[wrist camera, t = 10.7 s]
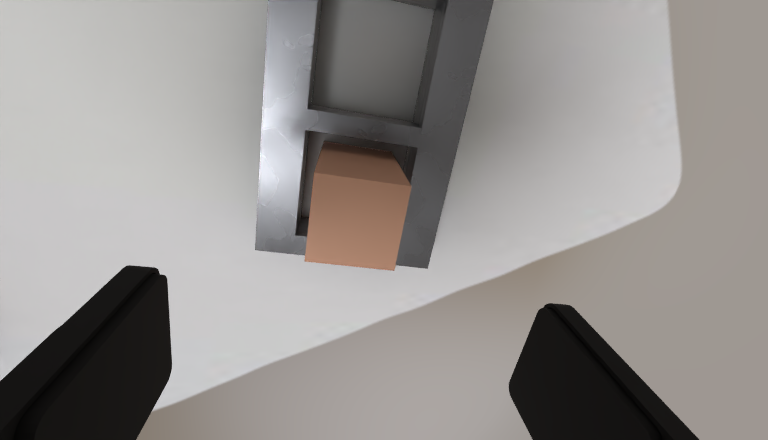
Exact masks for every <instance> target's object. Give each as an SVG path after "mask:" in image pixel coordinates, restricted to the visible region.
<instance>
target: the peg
mask: <svg viewBox="0 0 768 440" xmlns="http://www.w3.org/2000/svg"><path fill="white" fill-rule="evenodd" d="M411 187H412V186H411V184H410V183H409V181H408V179H407V178H406V176H405V174H404V173H403V171H402V169H401V167H400V166H399V164H398V162H397V161H396V159H395V157H394V155H393V154H392V152H391V151H385V150H378V149H372V148H365V147H359V146H353V145H346V144H340V143H333V142H327V141H324V143H323V146H322V149H321V152H320V155H319V158H318V162H317V165H316V168H315V171H314V177H313V187H312V196H311V206H310V215H309V225H308V234H307V243H306V253H305V261H306V262H316V263H325V264H335V265H345V266H354V267H364V268H373V269H383V270H393V271H394V269H395V265H396V260H397V255H398V250H399V245H400V240H401V236H402V231H403V226H404V221H405V216H406V211H407V207H408V202H409V197H410V192H411Z"/></svg>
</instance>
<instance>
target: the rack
mask: <svg viewBox="0 0 768 440" xmlns="http://www.w3.org/2000/svg"><path fill="white" fill-rule="evenodd" d="M393 1H398V2H402V3H407V4H411V5H416V6H420V7H425V8H429V9H434V10H435V11H434V16H433V21H432V27H431V32H430V37H429V42H428V47H427V52H426V57H425V62H424V67H423V72H422V77H421V82H420V87H419V93H418V98H417V103H416V108H415V113H414V118H413V122H410V121H404V120H399V119H393V118H387V117H381V116H375V115H369V114H364V113H358V112H352V111H346V110H340V109H334V108H329V107H323V106H317V105H312V98H313V88H314V77H315V67H316V57H317V47H318V37H319V27H320V17H321V7H322V0H268V15H267V34H266V53H265V72H264V91H263V110H262V129H261V148H260V167H259V186H258V205H257V224H256V243H255V250H259V251H269V252H278V253H287V254H297V255H305V253H306V243H307V234H308V225H309V218H302V217H301V209H302V199H303V189H304V179H305V168H306V158H307V148H308V138H309V130H310V131H317V132H323V133H329V134H335V135H342V136H348V137H354V138H360V139H366V140H373V141H379V142H385V143H391V144H398V145H404V146H408V148H407V153H406V158H405V164H404V169H403V173H404V174H405V176H406V178H407V179H408V181H409V183H410V184H411V186H412V187H411V192H410V197H409V202H408V207H407V211H406V216H405V221H404V226H403V231H402V236H401V240H400V245H399V250H398V255H397V260H396V265H399V266H409V267H418V268H427V269H428V265H429V261H430V257H431V252H432V248H433V244H434V240H435V236H436V232H437V228H438V224H439V220H440V216H441V212H442V208H443V204H444V200H445V196H446V192H447V187H448V183H449V179H450V175H451V171H452V167H453V163H454V159H455V155H456V151H457V147H458V143H459V139H460V135H461V131H462V126H463V122H464V118H465V114H466V110H467V106H468V102H469V98H470V94H471V90H472V86H473V82H474V78H475V74H476V70H477V65H478V61H479V57H480V53H481V49H482V45H483V41H484V37H485V33H486V29H487V25H488V21H489V17H490V13H491V9H492V4H493V0H393Z"/></svg>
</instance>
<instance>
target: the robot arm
mask: <svg viewBox="0 0 768 440" xmlns="http://www.w3.org/2000/svg"><path fill="white" fill-rule="evenodd" d="M171 369H172V357H171V339H170V321H169V303H168V285H167V278H166V276H165V275H160V274H159V271H158V269H157V268H152V267H141V266H126V267H124V268H123V269H122V270H121V271H120V272H119V273H118V274H116V275H115V276H114V277H113V278H112V279H111V280H110V281H109V282H108V283H107V284H106V285H105V286H104V287H103V288H101V289H100V290H99V291H98V292H97V293H96V294H95V295H94V296H93V297H92V298H91V299H90V300H89V301H88V302H86V303H85V304H84V305H83V306H82V307H81V308H80V309H79V310H78V311H77V312H76V313H75V314H74V315H73V316H71V317H70V318H69V319H68V320H67V321H66V322H65V323H64V324H63V325H62V326H60V327H59V328H57V329H56V330H55V331H54V332H53V333H52V334H51V335H50V336H48V337H47V338H46V339H45V340H44V341H43V342H42V343H41V344H40V345H39V346H38V347H37V348H36V349H34V350H33V351H32V352H31V353H30V354H29V355H28V356H27V357H26V358H25V359H24V360H23V361H22V362H20V363H19V364H18V365H17V366H16V367H15V368H14V369H13V370H12V371H11V372H10V373H9V374H8V375H6V376H5V377H4V378H3V379H2V380H1V381H0V440H136V439H137V437H138V435H139V433H140V431H141V430H142V428H143V426H144V424H145V422H146V420H147V419H148V417H149V415H150V413H151V411H152V410H153V408H154V406H155V404H156V402H157V400H158V399H159V397H160V395H161V393H162V391H163V389H164V388H165V386H166V384H167V382H168V380H169V377H170V374H171ZM509 392H510V396H511V398H512V400H513V402H514V404H515V406H516V408H517V410H518V412H519V414H520V416H521V418H522V419H523V421H524V423H525V425H526V427H527V429H528V431H529V433H530V435H531V437H532V439H533V440H699V439H698V438H697V437H696V436H695V435H694V434H693V433H692V432H691V430H689V428H688V427H687V426H686V425H685V424H684V423H683V422H682V421H681V420H680V419H679V418H678V417H677V416H676V415H675V414H674V413H673V412H672V411H671V410H670V409H669V407H668V406H667V405H666V404H665V403H664V402H663V401H662V400H661V399H660V398H659V397H658V396H657V395H656V394H655V393H654V392H653V391H652V390H651V389H650V387H649V386H648V385H647V384H646V383H645V382H644V381H643V380H642V379H641V378H640V377H639V376H638V375H637V374H636V373H635V372H634V371H633V370H632V369H631V368H630V367H629V365H628V364H627V363H625V361H624V360H623V359H622V358H621V357H620V356H619V355H618V354H617V353H616V352H615V351H614V350H613V349H612V348H611V347H610V346H609V345H608V344H607V342H606V341H605V340H604V339H603V338H602V337H601V336H600V335H599V334H598V333H597V332H596V331H595V330H594V329H593V328H592V327H591V326H590V325H589V324H588V323H587V321H586V320H585V319H584V318H582V316H581V315H580V314H579V313H578V312H577V311H576V310H575V309H574V308H573V307H572V306H570V305H563V304H552V303H550V304H546V305H545V306H544V308H541V309H540V310H539V311H538V313H537V315H536V317H535V320H534V322H533V325H532V327H531V330H530V332H529V335H528V337H527V340H526V342H525V345H524V347H523V350H522V352H521V355H520V357H519V359H518V362H517V364H516V367H515V369H514V372H513V374H512V377H511V379H510V382H509Z"/></svg>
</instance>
